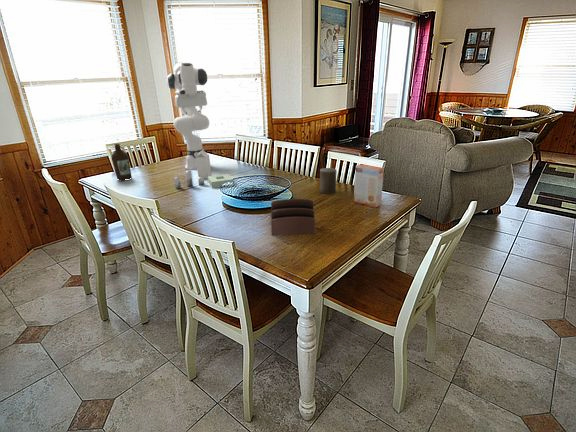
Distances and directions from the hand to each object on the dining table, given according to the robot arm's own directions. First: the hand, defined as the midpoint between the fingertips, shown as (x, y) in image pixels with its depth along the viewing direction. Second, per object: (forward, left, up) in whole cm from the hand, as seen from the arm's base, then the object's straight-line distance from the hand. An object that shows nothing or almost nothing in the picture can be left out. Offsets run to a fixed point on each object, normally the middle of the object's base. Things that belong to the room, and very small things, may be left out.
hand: (192, 113), depth 219 cm
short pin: (+13, -2, -44) cm, 46 cm away
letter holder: (+102, +26, -44) cm, 114 cm away
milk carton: (-4, +3, -44) cm, 44 cm away
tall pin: (+13, -9, -44) cm, 47 cm away
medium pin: (+13, -17, -44) cm, 49 cm away
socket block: (+16, +10, -44) cm, 48 cm away
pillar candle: (+61, +66, -44) cm, 101 cm away
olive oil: (-24, -50, -44) cm, 70 cm away
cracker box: (+88, +76, -44) cm, 125 cm away
